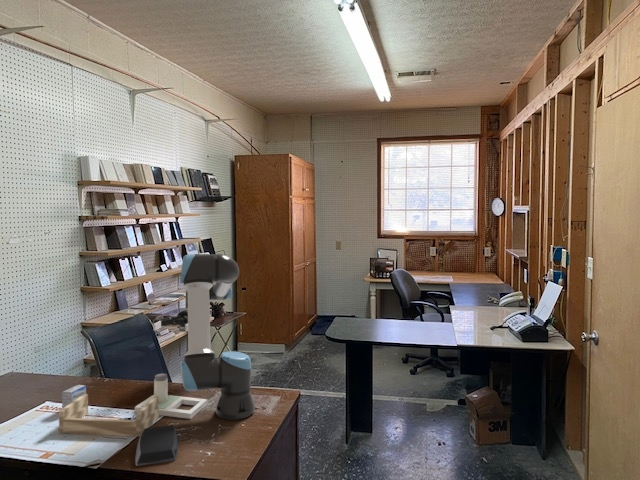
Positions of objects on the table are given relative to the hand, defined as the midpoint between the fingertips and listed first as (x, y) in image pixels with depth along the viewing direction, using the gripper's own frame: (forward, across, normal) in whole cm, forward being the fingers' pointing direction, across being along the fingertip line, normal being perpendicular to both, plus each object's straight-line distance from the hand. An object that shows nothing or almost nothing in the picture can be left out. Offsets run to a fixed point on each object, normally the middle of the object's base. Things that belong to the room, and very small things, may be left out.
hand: (170, 327), depth 187 cm
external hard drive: (+42, -12, -31) cm, 53 cm away
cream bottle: (+10, 0, -28) cm, 29 cm away
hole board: (+10, -5, -30) cm, 32 cm away
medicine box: (+15, +32, -30) cm, 47 cm away
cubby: (+27, +12, -30) cm, 42 cm away
